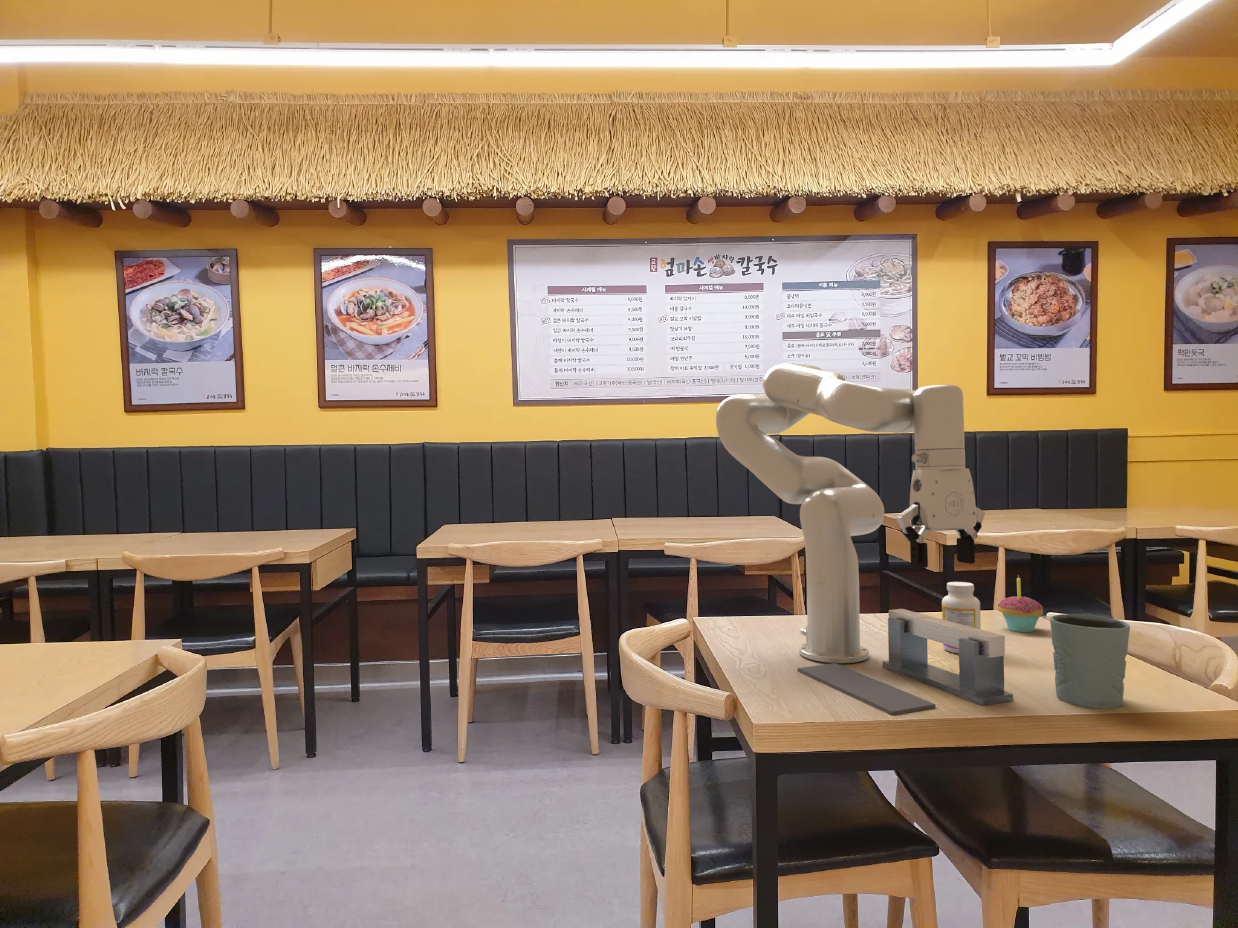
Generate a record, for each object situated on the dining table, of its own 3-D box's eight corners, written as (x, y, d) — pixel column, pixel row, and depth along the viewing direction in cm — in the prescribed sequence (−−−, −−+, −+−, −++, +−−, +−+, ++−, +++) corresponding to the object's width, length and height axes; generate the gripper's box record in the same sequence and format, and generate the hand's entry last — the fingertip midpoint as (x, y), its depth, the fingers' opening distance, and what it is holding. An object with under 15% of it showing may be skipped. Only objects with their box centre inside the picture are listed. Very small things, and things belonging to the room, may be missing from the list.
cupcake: (1042, 636, 149) (1041, 577, 149) (995, 631, 154) (994, 574, 154) (1044, 627, 156) (1043, 571, 156) (1000, 623, 161) (999, 569, 161)
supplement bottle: (956, 644, 144) (955, 579, 144) (988, 651, 138) (987, 584, 138) (935, 649, 140) (934, 583, 140) (967, 657, 135) (966, 587, 135)
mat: (797, 670, 128) (797, 667, 128) (835, 665, 131) (835, 662, 131) (891, 714, 105) (891, 711, 105) (935, 707, 108) (935, 704, 108)
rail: (888, 626, 130) (888, 610, 130) (902, 625, 131) (902, 608, 131) (989, 657, 109) (989, 637, 109) (1004, 655, 110) (1004, 635, 110)
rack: (882, 667, 129) (881, 616, 129) (909, 663, 131) (908, 613, 131) (982, 705, 109) (981, 645, 109) (1013, 700, 111) (1012, 641, 111)
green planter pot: (1035, 692, 114) (1034, 616, 114) (1086, 685, 117) (1085, 611, 117) (1094, 713, 104) (1093, 630, 104) (1148, 706, 107) (1146, 624, 107)
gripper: (914, 461, 113) (917, 571, 113) (998, 459, 119) (1002, 563, 119) (881, 462, 120) (884, 565, 120) (962, 460, 126) (965, 558, 126)
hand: (942, 564), depth 120 cm, fingers open, 9 cm apart
